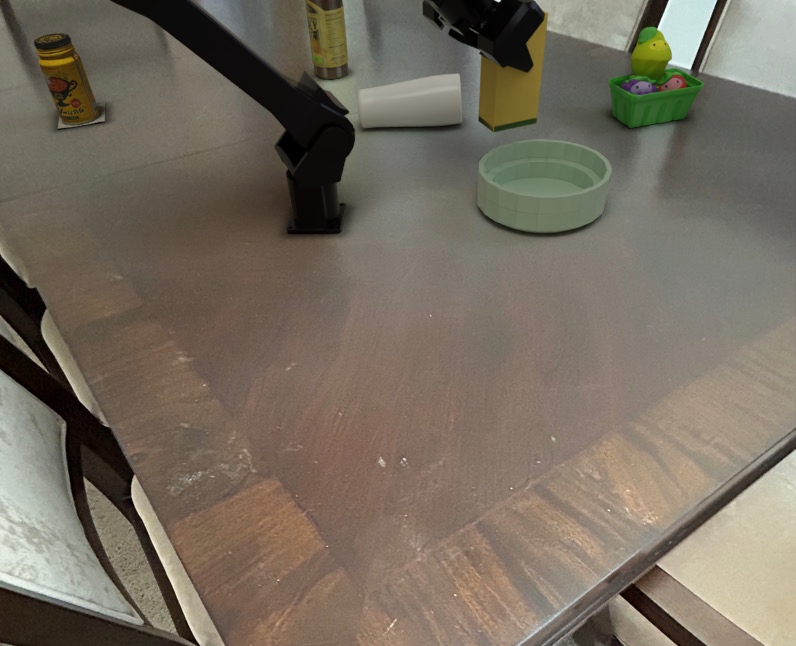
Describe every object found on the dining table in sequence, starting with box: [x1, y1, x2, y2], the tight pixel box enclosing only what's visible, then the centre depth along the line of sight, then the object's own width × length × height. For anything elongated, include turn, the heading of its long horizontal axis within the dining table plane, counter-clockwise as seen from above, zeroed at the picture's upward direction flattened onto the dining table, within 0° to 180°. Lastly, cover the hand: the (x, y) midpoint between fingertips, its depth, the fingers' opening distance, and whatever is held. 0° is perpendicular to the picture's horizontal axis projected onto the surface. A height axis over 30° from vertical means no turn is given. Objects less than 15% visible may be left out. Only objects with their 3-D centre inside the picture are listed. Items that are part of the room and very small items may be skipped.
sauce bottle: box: [304, 0, 349, 80], centre depth 112 cm, size 6×6×20 cm
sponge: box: [477, 9, 549, 133], centre depth 78 cm, size 6×4×12 cm, turn 112°
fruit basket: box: [608, 26, 705, 129], centre depth 95 cm, size 11×9×11 cm
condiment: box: [33, 32, 106, 129], centre depth 105 cm, size 7×8×12 cm
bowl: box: [476, 138, 613, 234], centre depth 80 cm, size 15×15×5 cm
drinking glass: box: [357, 72, 463, 129], centre depth 99 cm, size 7×7×15 cm
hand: (521, 63), depth 78 cm, fingers closed on sponge, 4 cm apart
